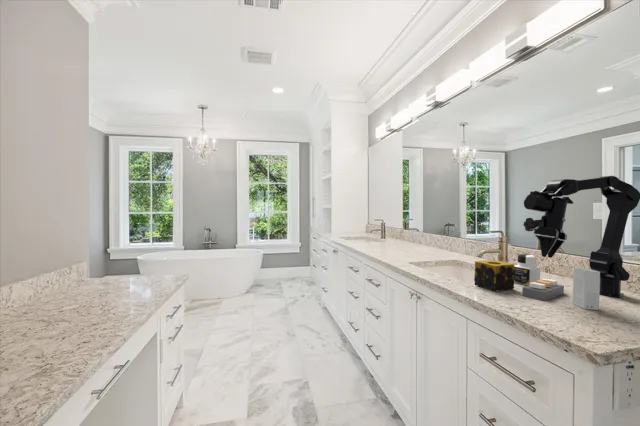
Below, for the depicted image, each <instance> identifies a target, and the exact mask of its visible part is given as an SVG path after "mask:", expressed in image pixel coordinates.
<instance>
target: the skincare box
mask: <svg viewBox="0 0 640 426" xmlns="http://www.w3.org/2000/svg"><path fill="white" fill-rule="evenodd" d="M572 271H573V272H572V273H573V275H572V276H573V277H572V278H573V279H572V304H574V305H575V306H577V307H579V308H582V309H584V310H593V311H594V310H595V311H597V310H598V311H600V295H601V294H600V272H598V271H595V270H591V268H587V267H586V268H585V267H573V270H572Z"/></svg>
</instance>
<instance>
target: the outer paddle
mask: <svg viewBox="0 0 640 426" xmlns="http://www.w3.org/2000/svg"><path fill="white" fill-rule="evenodd" d="M529 287H533V288H538V289H545V288H546V284H541V283H536V282H531V283H529Z"/></svg>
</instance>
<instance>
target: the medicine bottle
mask: <svg viewBox="0 0 640 426" xmlns="http://www.w3.org/2000/svg"><path fill="white" fill-rule="evenodd" d="M538 280H541V267H539V266H536V256H535V255H532V254H523V253H522V254H518V255H517V264H514V284H519V285H524V286H528V285H529V283H531V282H536V281H538Z"/></svg>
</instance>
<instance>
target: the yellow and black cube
mask: <svg viewBox="0 0 640 426" xmlns="http://www.w3.org/2000/svg"><path fill="white" fill-rule="evenodd" d="M514 265H515V264H514V263H509V262H506V261H501V260H495V259H487V260H477V261H474V278H473V281H474V285H475V286H477V287H479V288H482V289H485V288H486V290H489V291H493V292H502V291H509V290H510V291H511V290H514V289H515V283H514Z"/></svg>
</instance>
